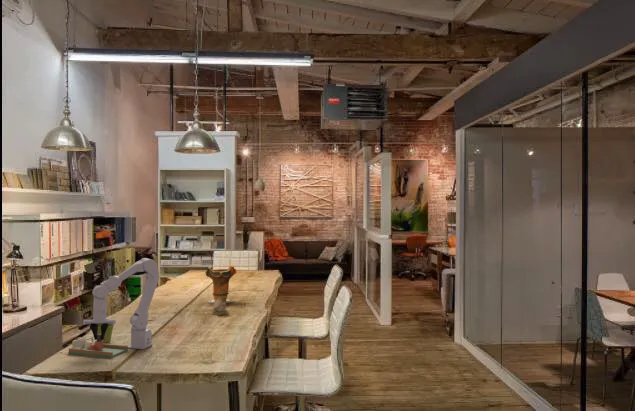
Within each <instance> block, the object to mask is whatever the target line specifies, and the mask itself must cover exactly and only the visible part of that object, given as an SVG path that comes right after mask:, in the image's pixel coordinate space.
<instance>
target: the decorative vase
mask: <svg viewBox="0 0 635 411" xmlns="http://www.w3.org/2000/svg"><path fill="white" fill-rule="evenodd" d="M212 267H213V266H212V265H210V266H208V267H207V270H206V271H205V276H206V277H207V278H210V279H211V280H212V283H213V284H212V286H213V287H212V288H213V290H212V291H213V293H212V296H213V299H211V300H208V303H211V304H214V303H215V301H216V300H217V299H219V298H221V300H222V302H223V303H225V304H229V303H233V300H232V299H228V295H229V297H230V296H231V295H230V292H229V289H230V288H229V283H230V280H231V278H233V277H234V276H235V275H236V274H237V268H235V266H234V265H233V264H231V265H229V266H228V268H212Z"/></svg>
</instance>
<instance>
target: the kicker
mask: <svg viewBox="0 0 635 411" xmlns="http://www.w3.org/2000/svg"><path fill="white" fill-rule="evenodd" d="M94 343H95V344H92V345H91V350H101V349H104V344H105V343H104V340H101V334H97V339H96V340H95V341H94Z"/></svg>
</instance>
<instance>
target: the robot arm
mask: <svg viewBox="0 0 635 411" xmlns="http://www.w3.org/2000/svg"><path fill="white" fill-rule="evenodd" d="M158 268H159V265H158V264H157V262H156V261H155V260H154V259H151V258H147V257H142V258H141V259H140V260H138V261H136V262H135V263H133V264H131V265H130V266H129V267H128V268H126V269H125V270H124V271H122V272H120V274H118V275H110V276H108V279H106V280H105V281H103V282H100V285H99V284H98V285H96V286H94V287H93V289H92V292H91V294H92V295H93V302H92V303H93V305H92V307H93V309H92V310H93V312H92V314H93V315H92V317H93V318H92V319H83V321H82V325H84V326H85V325H89V328H90V330H91V332H92V334H93V341H94V340H95V341H97V334H98V324H102V325H101V340H103V339H104V336H105V332H106V330H107V328H108V326H109V324H114V325H116V323H117V319H112V318H110V319H109V318H107V297H108V295H109V293H112V292H113V291H114V290H116V289H117V288H118V287H120V286H121V285H122V282H123V281H124V280H126V279H128V278H129V277H131V276H132V275H134V274H136V273H140V272H141V273H142V272H144V273H145V276H146V277H147V279H146V283H145V286H144V288H143V292H142V294H141V298H140V300H139V303H138V307H137V308H136V309H135V311H134V313H133V315H132V316H131V317H130V318H129V323H130V325H131V327H130V345H127V346H128V349H136V350H137V349H139V350H144V349H145V350H146V349H148V348H149V347H151V346H153V343H152V341H153V340H152V339H153V338H152V337H153V336H152V330H151V329H148V328H147V326H148V323H149V321H148V318H149V309H150V305H151V303H152V301H153V300H152V299H153V297H154V294H155V292H156V289H157V285H158V283H159V279H160V272H159V269H158Z"/></svg>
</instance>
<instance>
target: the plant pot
mask: <svg viewBox="0 0 635 411" xmlns="http://www.w3.org/2000/svg"><path fill="white" fill-rule="evenodd" d="M101 325H102V324H98V334H101ZM114 326H115V324H109V326H108V328H107V330H106V332H105V336H104V339H103V340H104V344H109V343H110V342H111V341H112V335H113V329H114Z"/></svg>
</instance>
